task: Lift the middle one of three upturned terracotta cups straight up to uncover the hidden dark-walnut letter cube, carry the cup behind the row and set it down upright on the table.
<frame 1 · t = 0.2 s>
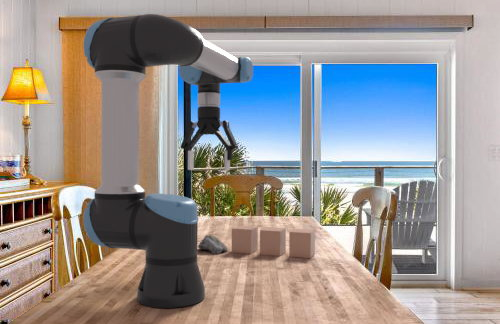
hand: (208, 170, 157), 28 cm above the table, fingers open, 13 cm apart
letter cube: (272, 247, 157), in the cover mid
cover left: (244, 250, 161), on the table
cover mid: (272, 253, 157), on the table
cover right: (302, 255, 154), on the table
fossilized seashell: (212, 251, 161), on the table
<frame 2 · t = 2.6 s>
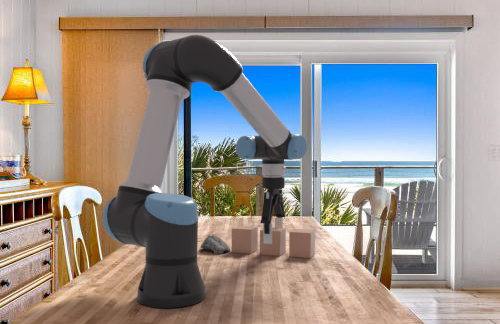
hand: (273, 239, 157), 4 cm above the table, fingers open, 13 cm apart
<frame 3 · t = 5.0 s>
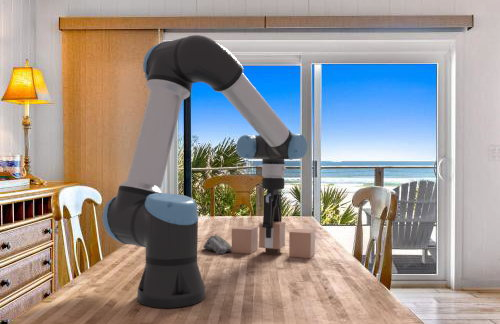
hand: (272, 245, 157), 3 cm above the table, fingers closed on cover mid, 7 cm apart
cover mid: (272, 246, 157), point 2 cm above the table, touching gripper
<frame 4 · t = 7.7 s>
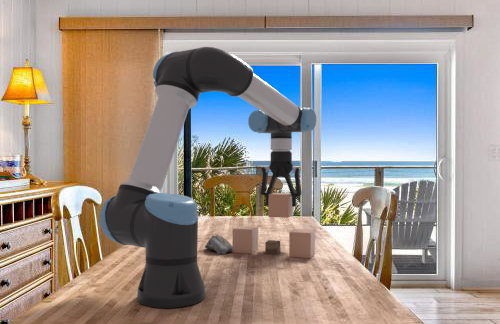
hand: (280, 215, 167), 11 cm above the table, fingers closed on cover mid, 7 cm apart
cover left: (245, 251, 160), on the table, touching fossilized seashell
cover mid: (280, 216, 167), point 11 cm above the table, touching gripper
fossilized seashell: (218, 252, 161), on the table, touching cover left
everything else where it was.
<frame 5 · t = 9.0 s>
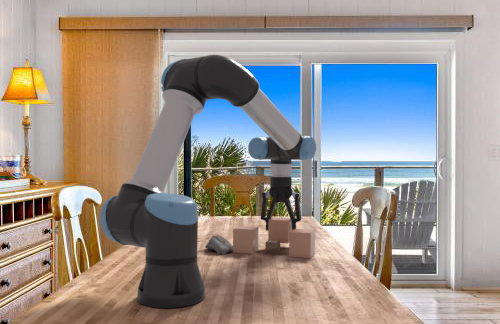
hand: (280, 240, 167), 3 cm above the table, fingers closed on cover mid, 7 cm apart
cover left: (245, 251, 160), on the table
cover mid: (280, 241, 167), point 2 cm above the table, touching gripper
fossilized seashell: (218, 252, 161), on the table
everything else where it was.
when the fingers open (1 cm above the table, at t = 10.3 s): cover mid stays where it is, on the table.
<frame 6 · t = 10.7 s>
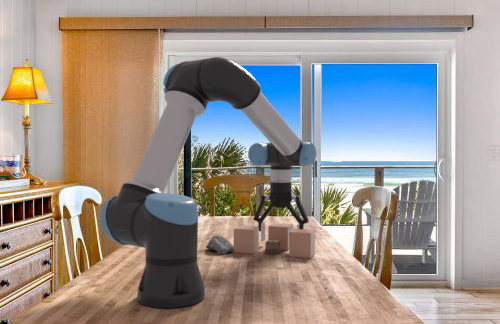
hand: (280, 241, 167), 2 cm above the table, fingers open, 12 cm apart
cover mid: (280, 247, 167), on the table
everything else where it was.
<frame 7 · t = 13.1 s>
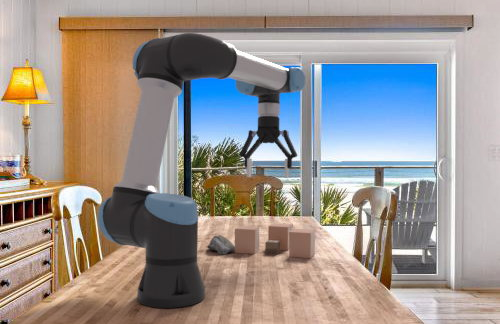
hand: (267, 177, 163), 25 cm above the table, fingers open, 13 cm apart
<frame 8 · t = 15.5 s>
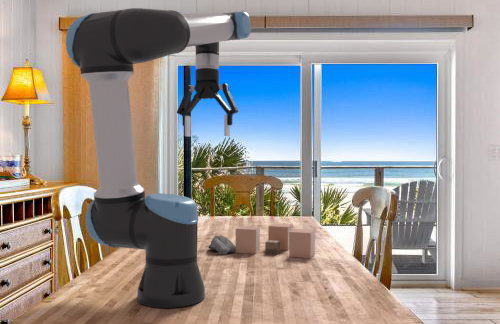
hand: (207, 136, 149), 39 cm above the table, fingers open, 13 cm apart
at the end: cover mid inside the target area (0.1 cm from its centre), on the table; cover mid tilted 0°; the gripper is holding nothing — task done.
